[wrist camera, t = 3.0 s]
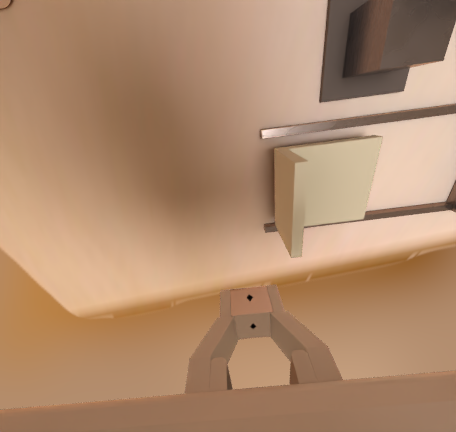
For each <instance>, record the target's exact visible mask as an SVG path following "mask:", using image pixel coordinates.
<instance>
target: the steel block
mask: <svg viewBox="0 0 456 432" xmlns="http://www.w3.org/2000/svg"><path fill="white" fill-rule="evenodd" d="M455 22H456V0H368V1H367V2H366V3H364V4H363V5H361V6H360V7H359V8H357V9H356V10H354V11H353V12H352V13H350V19H349V27H348V35H347V43H346V50H345V58H344V66H343V74H342V78H349V77H356V76H363V75H371V74H378V73H385V72H392V71H397V70H401V69H406V68H411V67H415V66H420V65H425V64H429V63H434V62H439V61H443V60H444V57H445V53H446V50H447V47H448V44H449V41H450V37H451V34H452V31H453V28H454V25H455Z"/></svg>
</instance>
